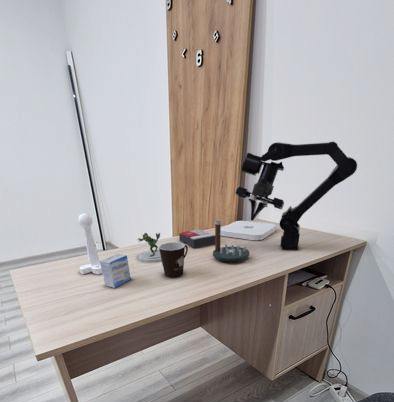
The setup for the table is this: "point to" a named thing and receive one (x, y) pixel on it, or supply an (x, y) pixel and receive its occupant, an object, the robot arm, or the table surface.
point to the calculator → (197, 238)
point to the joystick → (89, 247)
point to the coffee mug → (173, 258)
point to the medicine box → (115, 270)
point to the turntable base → (231, 261)
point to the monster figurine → (151, 254)
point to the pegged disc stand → (227, 248)
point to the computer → (248, 230)
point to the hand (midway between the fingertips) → (251, 220)
